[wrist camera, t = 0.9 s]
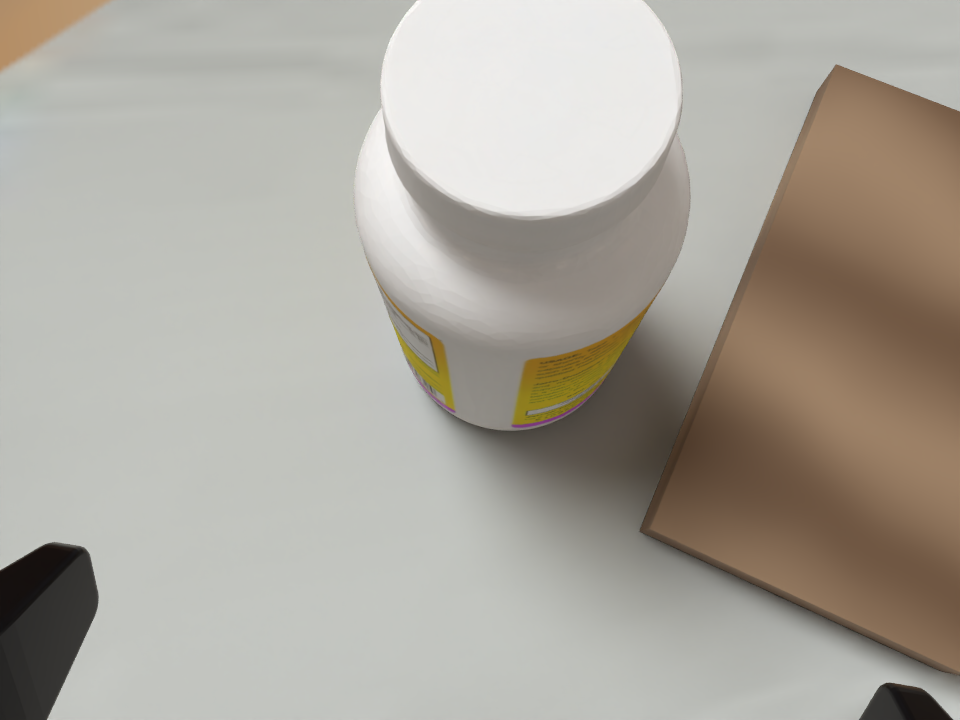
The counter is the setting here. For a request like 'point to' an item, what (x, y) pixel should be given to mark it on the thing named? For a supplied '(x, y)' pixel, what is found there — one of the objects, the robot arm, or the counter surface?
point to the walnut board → (840, 383)
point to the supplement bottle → (522, 197)
